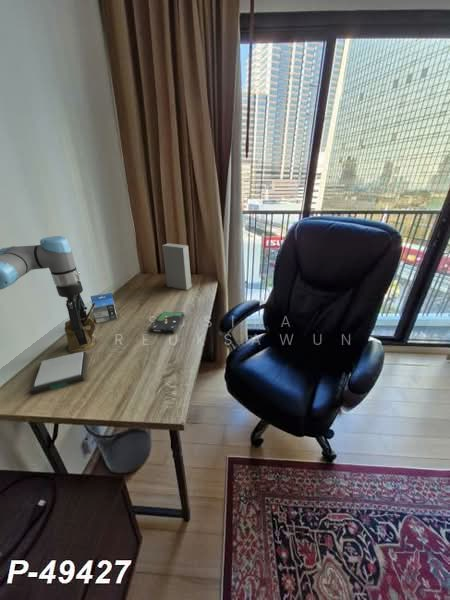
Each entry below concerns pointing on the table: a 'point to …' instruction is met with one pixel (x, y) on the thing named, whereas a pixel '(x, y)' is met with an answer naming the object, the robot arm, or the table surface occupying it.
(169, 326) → the disk drive
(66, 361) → the scale
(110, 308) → the tape cartridge
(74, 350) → the wooden mug
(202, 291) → the table surface
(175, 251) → the upright grey slab
